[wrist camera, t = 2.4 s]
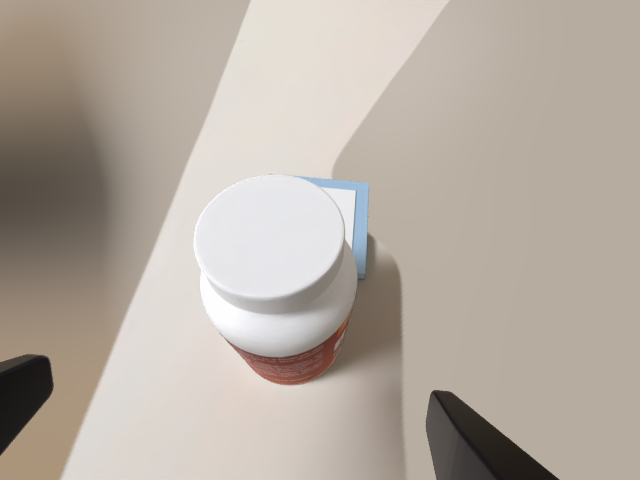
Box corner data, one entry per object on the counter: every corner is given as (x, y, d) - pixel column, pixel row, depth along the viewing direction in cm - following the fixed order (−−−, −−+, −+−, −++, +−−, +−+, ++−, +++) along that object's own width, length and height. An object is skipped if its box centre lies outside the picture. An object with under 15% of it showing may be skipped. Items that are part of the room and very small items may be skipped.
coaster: (363, 279, 21) (365, 273, 20) (247, 266, 21) (244, 260, 20) (367, 189, 25) (369, 182, 24) (270, 180, 25) (269, 172, 25)
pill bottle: (353, 377, 17) (397, 309, 8) (243, 396, 17) (152, 347, 7) (333, 278, 21) (348, 149, 11) (240, 291, 20) (176, 166, 11)
